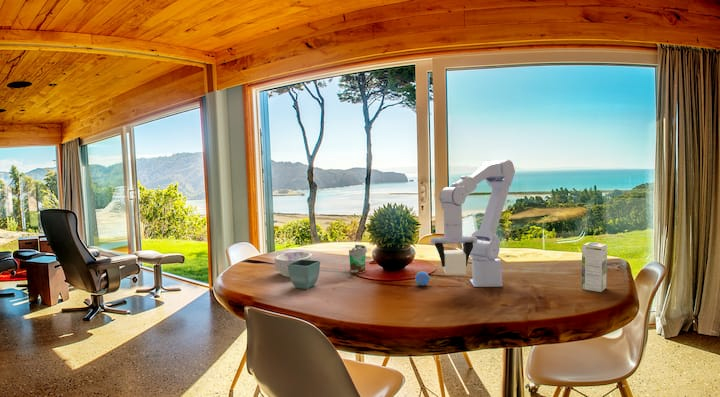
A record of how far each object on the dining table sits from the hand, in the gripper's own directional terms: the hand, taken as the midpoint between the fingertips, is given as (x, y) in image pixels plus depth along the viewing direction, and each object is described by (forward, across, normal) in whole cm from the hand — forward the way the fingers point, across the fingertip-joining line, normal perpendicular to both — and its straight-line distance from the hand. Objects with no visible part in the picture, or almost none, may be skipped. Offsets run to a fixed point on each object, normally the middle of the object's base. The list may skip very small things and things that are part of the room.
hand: (454, 265), depth 122 cm
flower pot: (+9, -52, +9) cm, 53 cm away
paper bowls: (+9, -61, +27) cm, 67 cm away
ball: (+6, -10, +8) cm, 14 cm away
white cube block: (+2, 0, 0) cm, 2 cm away
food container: (+9, -34, +30) cm, 46 cm away
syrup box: (+9, +44, +2) cm, 45 cm away
